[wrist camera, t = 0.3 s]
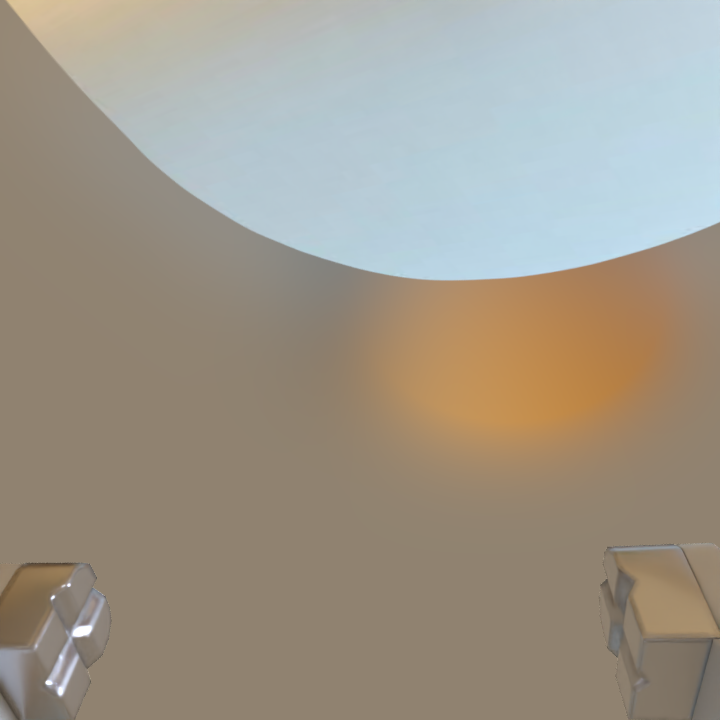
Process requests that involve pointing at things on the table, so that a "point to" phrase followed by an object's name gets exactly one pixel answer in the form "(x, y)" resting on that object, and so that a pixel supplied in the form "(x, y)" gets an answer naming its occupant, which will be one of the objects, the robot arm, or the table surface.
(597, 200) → the table surface
